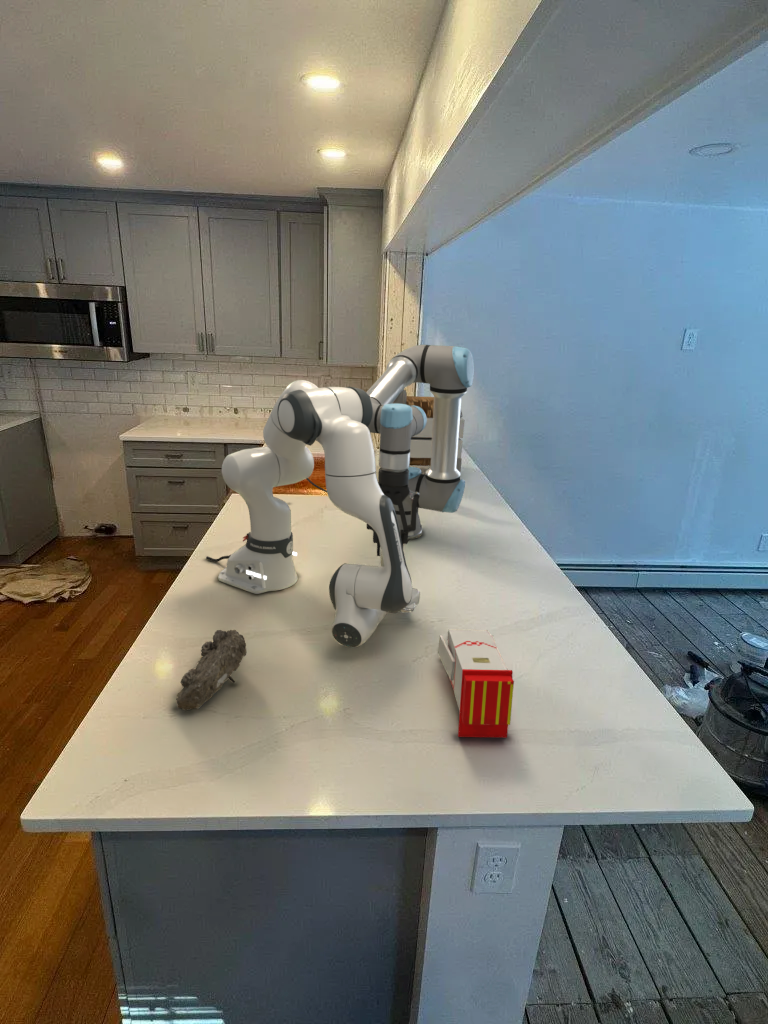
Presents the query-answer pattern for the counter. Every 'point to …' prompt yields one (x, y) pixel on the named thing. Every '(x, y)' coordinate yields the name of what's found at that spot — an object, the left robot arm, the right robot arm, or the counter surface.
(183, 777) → the counter surface
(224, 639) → the fossil
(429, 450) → the grey slatted box
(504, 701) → the toy
